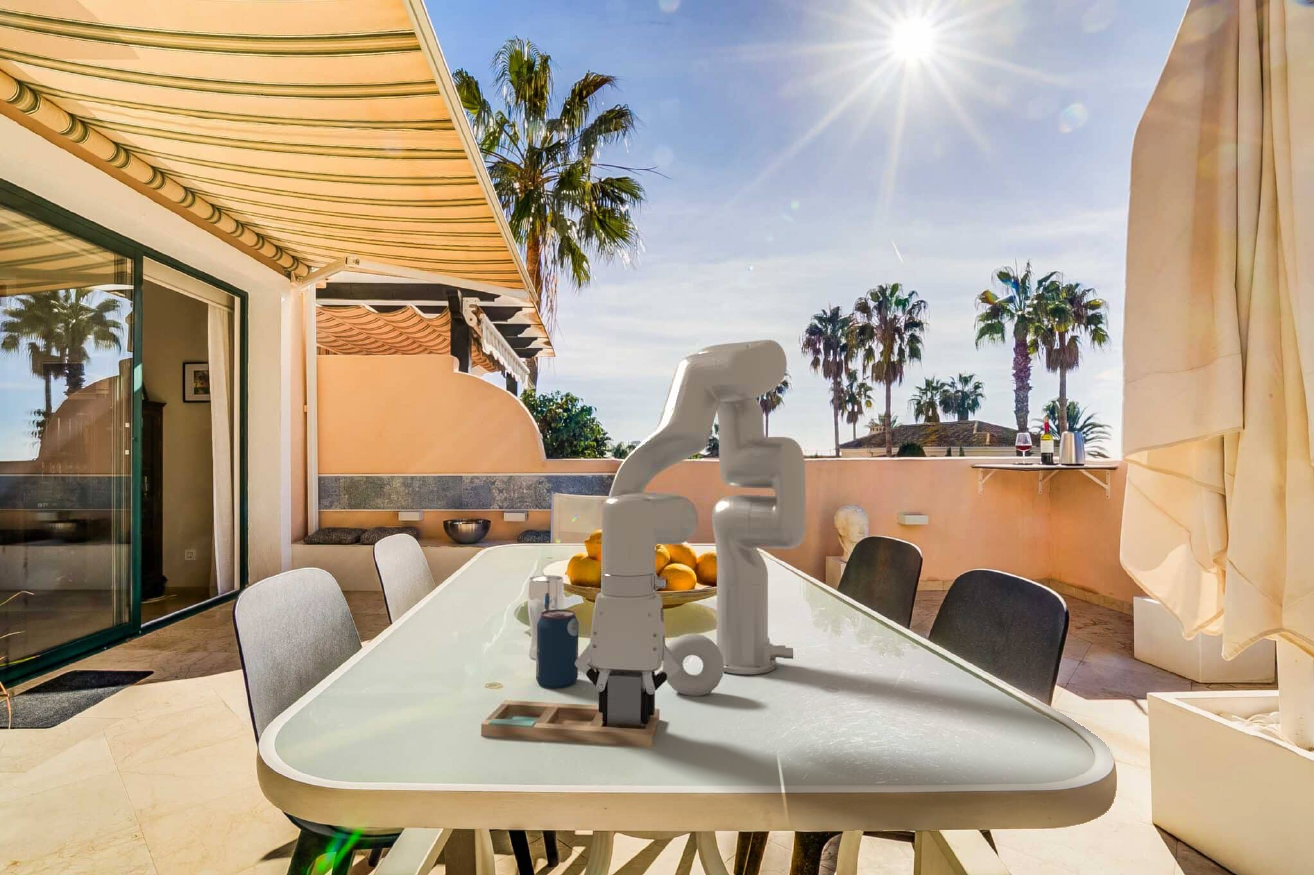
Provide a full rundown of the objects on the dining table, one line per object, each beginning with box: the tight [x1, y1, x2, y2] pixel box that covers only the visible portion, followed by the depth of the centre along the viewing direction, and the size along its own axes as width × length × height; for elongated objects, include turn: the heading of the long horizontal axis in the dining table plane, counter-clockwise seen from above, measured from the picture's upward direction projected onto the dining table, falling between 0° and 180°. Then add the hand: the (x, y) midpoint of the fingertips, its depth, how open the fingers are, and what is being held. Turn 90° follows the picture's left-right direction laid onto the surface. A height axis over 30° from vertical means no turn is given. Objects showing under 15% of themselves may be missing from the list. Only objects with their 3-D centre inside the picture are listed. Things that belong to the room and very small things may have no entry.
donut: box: [661, 632, 724, 697], centre depth 103 cm, size 10×4×10 cm, turn 82°
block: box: [607, 670, 645, 729], centre depth 88 cm, size 4×4×8 cm
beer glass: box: [527, 574, 565, 660], centre depth 124 cm, size 7×7×15 cm
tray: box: [480, 699, 661, 748], centre depth 89 cm, size 23×9×2 cm, turn 83°
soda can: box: [535, 608, 580, 689], centre depth 108 cm, size 7×7×12 cm
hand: (626, 717), depth 88 cm, fingers open, 4 cm apart
